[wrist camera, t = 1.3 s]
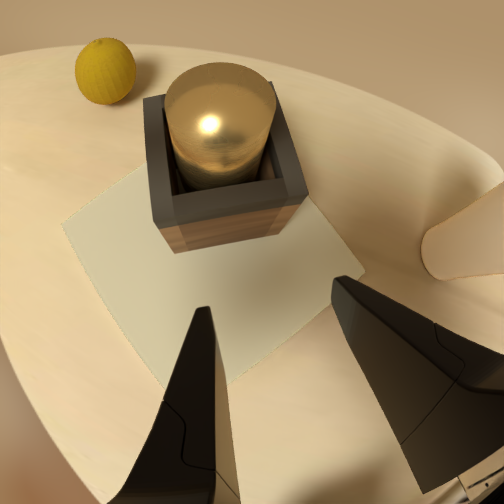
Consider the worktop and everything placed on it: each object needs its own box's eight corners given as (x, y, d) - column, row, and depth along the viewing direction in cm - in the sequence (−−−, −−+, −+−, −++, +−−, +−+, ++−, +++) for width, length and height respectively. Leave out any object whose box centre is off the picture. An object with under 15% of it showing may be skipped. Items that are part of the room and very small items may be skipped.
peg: (263, 199, 19) (289, 135, 12) (185, 213, 19) (169, 152, 11) (246, 135, 20) (261, 59, 13) (175, 146, 20) (161, 70, 12)
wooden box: (277, 235, 24) (308, 193, 16) (175, 255, 23) (153, 221, 14) (255, 147, 25) (271, 81, 17) (162, 162, 24) (142, 98, 16)
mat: (363, 272, 24) (366, 271, 24) (185, 412, 20) (185, 414, 20) (233, 113, 26) (234, 111, 25) (63, 225, 22) (60, 224, 22)
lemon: (120, 72, 26) (103, 17, 18) (153, 92, 25) (140, 31, 18) (80, 106, 24) (53, 53, 17) (111, 129, 24) (84, 72, 16)
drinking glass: (455, 222, 26) (564, 168, 12) (463, 287, 25) (584, 259, 10) (407, 218, 26) (528, 146, 11) (415, 291, 24) (556, 260, 10)
